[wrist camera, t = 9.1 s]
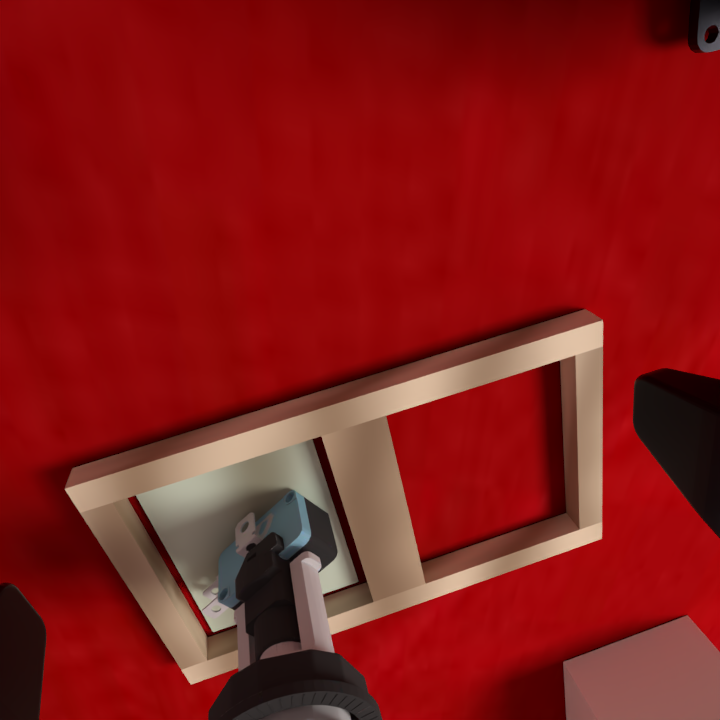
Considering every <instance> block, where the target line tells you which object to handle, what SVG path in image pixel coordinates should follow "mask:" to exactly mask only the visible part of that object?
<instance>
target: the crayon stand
mask: <svg viewBox="0 0 720 720" xmlns="http://www.w3.org/2000/svg"><path fill="white" fill-rule="evenodd" d="M563 668H564V687H565V705H566V720H720V652H719V651H718V650H717V648H716V647H715V646H714V645H713V644H712V643H711V642H710V640H709V639H708V638H707V637H706V636H705V635H704V634H703V632H702V631H701V630H700V629H699V628H698V627H697V626H696V624H695V623H694V622H693V621H692V620H691V619H690V618H689V616H688V615H687V616H684V617H681V618H679V619H676V620H673V621H671V622H668V623H665V624H663V625H660V626H658V627H655V628H652V629H650V630H647V631H644V632H642V633H639V634H636V635H634V636H631V637H628V638H626V639H623V640H620V641H618V642H615V643H612V644H610V645H607V646H604V647H602V648H599V649H596V650H594V651H591V652H588V653H586V654H583V655H580V656H578V657H575V658H572V659H570V660H567V661H564V662H563Z"/></svg>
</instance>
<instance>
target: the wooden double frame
mask: <svg viewBox="0 0 720 720" xmlns="http://www.w3.org/2000/svg"><path fill="white" fill-rule="evenodd" d="M559 360H560V372H561V397H562V422H563V447H564V471H565V496H566V513H564V514H561V515H559V516H556V517H553V518H550V519H547V520H544V521H541V522H538V523H535V524H533V525H530V526H527V527H524V528H521V529H518V530H515V531H512V532H510V533H507V534H504V535H501V536H498V537H495V538H492V539H489V540H487V541H484V542H481V543H478V544H475V545H472V546H469V547H466V548H464V549H461V550H458V551H455V552H452V553H449V554H446V555H443V556H441V557H438V558H435V559H432V560H429V561H426V562H423V563H421V562H420V558H419V554H418V549H417V545H416V541H415V537H414V532H413V528H412V524H411V520H410V515H409V511H408V507H407V503H406V499H405V494H404V490H403V486H402V482H401V477H400V473H399V469H398V465H397V460H396V456H395V452H394V448H393V444H392V439H391V435H390V431H389V427H388V422H387V418H386V415H389V414H393V413H396V412H399V411H402V410H405V409H408V408H411V407H415V406H418V405H421V404H424V403H427V402H430V401H433V400H436V399H440V398H443V397H446V396H449V395H452V394H455V393H458V392H462V391H465V390H468V389H471V388H474V387H477V386H480V385H484V384H487V383H490V382H493V381H496V380H499V379H502V378H506V377H509V376H512V375H515V374H518V373H521V372H524V371H528V370H531V369H534V368H537V367H540V366H543V365H546V364H550V363H553V362H556V361H559ZM602 417H603V320H602V319H600V318H599V317H597V316H595V315H594V314H592V313H591V312H589V311H587V310H586V309H584V310H581V311H577V312H574V313H571V314H568V315H564V316H561V317H558V318H555V319H552V320H548V321H545V322H542V323H539V324H535V325H532V326H529V327H526V328H522V329H519V330H516V331H513V332H510V333H506V334H503V335H500V336H497V337H493V338H490V339H487V340H484V341H481V342H477V343H474V344H471V345H468V346H464V347H461V348H458V349H455V350H452V351H448V352H445V353H442V354H439V355H435V356H432V357H429V358H426V359H423V360H419V361H416V362H413V363H410V364H406V365H403V366H400V367H397V368H394V369H390V370H387V371H384V372H381V373H377V374H374V375H371V376H368V377H365V378H361V379H358V380H355V381H352V382H348V383H345V384H342V385H339V386H336V387H332V388H329V389H326V390H323V391H319V392H316V393H313V394H310V395H307V396H303V397H300V398H297V399H294V400H290V401H287V402H284V403H281V404H278V405H274V406H271V407H268V408H265V409H261V410H258V411H255V412H252V413H248V414H245V415H242V416H239V417H236V418H232V419H229V420H226V421H223V422H219V423H216V424H213V425H210V426H207V427H203V428H200V429H197V430H194V431H190V432H187V433H184V434H181V435H178V436H174V437H171V438H168V439H165V440H161V441H158V442H155V443H152V444H149V445H145V446H142V447H139V448H136V449H132V450H129V451H126V452H123V453H120V454H116V455H113V456H110V457H107V458H103V459H100V460H97V461H94V462H91V463H87V464H84V465H81V466H78V467H74V468H72V470H71V473H70V476H69V478H68V481H67V483H66V486H65V491H66V492H67V494H68V495H69V497H70V498H71V500H72V501H73V503H74V505H75V506H76V508H77V509H78V511H79V512H80V514H81V515H82V517H83V518H84V520H85V522H86V523H87V525H88V526H89V528H90V529H91V531H92V532H93V534H94V535H95V537H96V539H97V540H98V542H99V543H100V545H101V546H102V548H103V549H104V551H105V552H106V554H107V556H108V557H109V559H110V560H111V562H112V563H113V565H114V566H115V568H116V569H117V571H118V573H119V574H120V576H121V577H122V579H123V580H124V582H125V583H126V585H127V586H128V588H129V590H130V591H131V593H132V594H133V596H134V597H135V599H136V600H137V602H138V603H139V605H140V607H141V608H142V610H143V611H144V613H145V614H146V616H147V617H148V619H149V620H150V622H151V624H152V625H153V627H154V628H155V630H156V631H157V633H158V634H159V636H160V637H161V639H162V641H163V642H164V644H165V645H166V647H167V648H168V650H169V651H170V653H171V654H172V656H173V658H174V659H175V661H176V662H177V664H178V665H179V667H180V668H181V670H182V671H183V673H184V675H185V676H186V678H187V679H188V681H189V682H190V684H194V683H197V682H199V681H202V680H205V679H208V678H211V677H214V676H216V675H219V674H222V673H225V672H228V671H230V670H233V669H236V668H238V637H237V627H236V628H233V629H231V630H228V631H225V632H222V633H219V634H216V635H213V636H210V637H207V635H206V633H205V632H204V630H203V628H202V627H201V625H200V623H199V621H198V620H197V618H196V616H195V614H194V613H193V611H192V609H191V608H190V606H189V604H188V602H187V601H186V599H185V597H184V595H183V594H182V592H181V590H180V588H179V587H178V585H177V583H176V582H175V580H174V578H173V576H172V575H171V573H170V571H169V569H168V568H167V566H166V564H165V562H164V561H163V559H162V557H161V556H160V554H159V552H158V550H157V549H156V547H155V545H154V543H153V542H152V540H151V538H150V536H149V535H148V533H147V531H146V530H145V528H144V526H143V524H142V523H141V521H140V519H139V517H138V516H137V514H136V512H135V510H134V509H133V507H132V505H131V504H130V502H129V500H128V498H129V497H132V496H135V495H136V497H137V499H138V500H139V502H140V504H141V506H142V508H143V509H144V511H145V513H146V515H147V516H148V518H149V520H150V522H151V523H152V525H153V527H154V529H155V531H156V532H157V534H158V536H159V538H160V539H161V541H162V543H163V545H164V546H165V548H166V550H167V552H168V554H169V555H170V557H171V559H172V561H173V562H174V564H175V566H176V568H177V569H178V571H179V573H180V575H181V577H182V578H183V580H184V582H185V584H186V585H187V587H188V589H189V591H190V592H191V594H192V596H193V598H194V600H195V601H196V603H197V605H198V607H199V608H200V610H201V612H202V609H204V608H205V607H206V606H207V605H208V604H209V603H210V602H212V601H213V600H211V599H209V598H207V597H205V596H203V591H205V590H206V589H207V588H208V587H209V586H210V585H211V584H213V583H214V582H215V581H216V580H217V578H216V576H217V575H218V561H219V557H220V555H221V553H222V552H223V551H224V550H225V549H226V548H227V547H228V546H230V545H231V544H232V543H233V542H234V541H235V540H236V538H235V528H236V526H237V524H238V523H239V522H240V521H241V520H242V519H243V518H245V517H246V516H247V515H248V514H249V513H250V512H252V513H255V522H256V521H258V520H259V519H260V518H261V517H262V516H263V515H264V514H265V513H267V512H268V511H269V510H270V509H271V508H272V507H273V506H274V505H276V504H277V503H278V502H279V501H280V500H281V499H282V498H283V496H285V495H286V494H287V493H288V492H289V491H291V490H295V491H296V492H298V493H299V494H300V495H302V496H303V497H305V498H306V499H308V500H309V501H310V502H312V503H313V504H315V505H316V506H318V507H319V508H321V509H322V510H324V511H325V512H327V513H328V514H329V518H330V522H331V526H332V530H333V534H334V538H335V542H336V546H337V550H338V553H337V556H336V558H335V559H334V561H332V562H331V563H330V564H329V565H328V566H326V567H325V568H324V569H323V570H322V571H321V572H319V573H318V574H319V579H320V584H321V589H322V594H325V593H328V592H331V591H334V590H337V589H340V588H342V587H345V586H348V585H351V584H354V583H357V582H359V580H358V577H357V574H356V571H355V568H354V565H353V562H352V559H351V556H350V553H349V550H348V547H347V544H346V540H345V537H344V534H343V531H342V528H341V525H340V522H339V519H338V516H337V513H336V510H335V507H334V504H333V501H332V498H331V495H330V491H329V488H328V485H327V482H326V479H325V476H324V473H323V470H322V467H321V464H320V461H319V458H318V455H317V452H316V449H315V446H314V443H313V439H314V438H317V437H320V436H321V437H322V440H323V443H324V446H325V449H326V453H327V456H328V459H329V462H330V465H331V468H332V472H333V475H334V478H335V481H336V484H337V488H338V491H339V494H340V497H341V500H342V503H343V507H344V510H345V513H346V516H347V519H348V522H349V526H350V529H351V532H352V535H353V538H354V541H355V545H356V548H357V551H358V554H359V557H360V560H361V564H362V567H363V570H364V573H365V576H366V579H367V582H366V583H363V584H360V585H357V586H354V587H351V588H348V589H346V590H343V591H340V592H337V593H334V594H331V595H328V596H325V597H323V599H324V604H325V609H326V614H327V619H328V624H329V629H330V634H331V635H332V634H335V633H338V632H340V631H343V630H346V629H349V628H352V627H354V626H357V625H360V624H363V623H366V622H369V621H371V620H374V619H377V618H380V617H383V616H385V615H388V614H391V613H394V612H397V611H400V610H402V609H405V608H408V607H411V606H414V605H416V604H419V603H422V602H425V601H428V600H431V599H433V598H436V597H439V596H442V595H445V594H447V593H450V592H453V591H456V590H459V589H462V588H464V587H467V586H470V585H473V584H476V583H478V582H481V581H484V580H487V579H490V578H493V577H495V576H498V575H501V574H504V573H507V572H509V571H512V570H515V569H518V568H521V567H524V566H526V565H529V564H532V563H535V562H538V561H540V560H543V559H546V558H549V557H552V556H555V555H557V554H560V553H563V552H566V551H569V550H571V549H574V548H577V547H580V546H583V545H586V544H588V543H591V542H594V541H597V540H600V539H602ZM248 525H249V522H247V523H246V524H245V525H244V526H243V528H242V533H243V532H245V531H246V529H247V528H248ZM217 592H218V588H214V589H213V590H212V593H217ZM211 609H212V610H213V611H218V610H220V609H221V607H220V606H218V605H216V606H213V607H212V608H211ZM234 611H235V610H233V609H231V608H228V609H227V610H226V611H224V612H223V613H222V614H221V615H220V616H219V617H217V618H215V619H213V618H211V617H209V616H207V615H205V614H203V613H202V614H203V615H204V617H205V619H206V621H207V623H208V624H209V626H210V628H211V630H212V631H213V632H216V631H219V630H221V629H224V628H227V627H230V626H233V625H236V624H235V623H234Z"/></svg>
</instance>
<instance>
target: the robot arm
mask: <svg viewBox="0 0 720 720" xmlns="http://www.w3.org/2000/svg"><path fill="white" fill-rule="evenodd" d="M707 29H708V30H709V35H708V38H707V40H706V41H705V39H704V35H705V31H706V30H707ZM688 45H689V47H690V49H691V50H692V51H693V52H695V53H703V52H712V51H716V50H719V49H720V0H691V3H690V17H689V32H688ZM633 424H634V428H635V431H636V433H637V435H638V437H639V438H640V439H641V441H642V442H643V443H644V445H645V446H646V447H647V449H648V450H649V451H650V452H651V454H652V455H653V456H654V458H655V459H656V460H657V462H658V463H659V464H660V465H661V467H662V468H663V469H664V471H665V472H666V473H667V475H668V476H669V477H670V478H671V480H672V481H673V482H674V484H675V485H676V486H677V488H678V489H679V490H680V491H681V493H682V494H683V495H684V497H685V498H686V499H687V501H688V502H689V503H690V504H691V506H692V507H693V508H694V509H695V511H696V512H697V513H698V514H699V515H700V517H701V518H702V519H703V520H704V521H705V523H706V524H707V525H708V526H709V527H710V528H711V529H712V530H713V531H714V533H715V534H716V535H717V536H718V537H719V538H720V380H719V379H715V378H710V377H705V376H701V375H696V374H691V373H687V372H682V371H677V370H673V369H668V368H662V369H658V370H655V371H652V372H649V373H646V374H643V375H641V376H639V377H638V378H637V379H636V381H635V384H634V404H633ZM45 647H46V629H45V625H44V622H43V620H42V618H41V617H40V616H39V614H38V613H37V612H36V611H35V609H34V608H33V607H32V606H31V604H30V603H29V602H28V601H27V599H26V598H25V597H24V596H23V594H22V593H21V592H20V590H19V589H18V588H17V587H16V586H15V585H13V584H11V583H1V584H0V720H39V715H40V703H41V692H42V681H43V670H44V659H45Z"/></svg>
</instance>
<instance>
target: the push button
mask: <svg viewBox="0 0 720 720" xmlns="http://www.w3.org/2000/svg"><path fill="white" fill-rule="evenodd" d="M247 522H249V525H248V528H247V529H246V531H245V532H243V533H242V528H243V526H244V525H245V524H246V523H247ZM235 538H236V540H235V541H234V542H233V543H232V544H231V545H230V546H228V547H227V548H226V549H225V550H224V551H223V552H222V553H221V555H220V557H219V561H218V575H217V576H216V578H217V580H216V581H215V582H214V583H213V584H211V585H210V586H209V587H208V588H207V589H206V590H205V591H203V596H205V597H207V598H209V599H211V600H213V601H212V602H210V603H209V604H208V605H207V606H206V607H205V608H204V609H202V613H203V614H205V615H207V616H209V617H211V618H213V619H215V618H217V617H219V616H220V615H221V614H222V613H223V612H224V611H226V610H227V609H228V608H231V609H233V610H235V611H234V623H235V624H237V637H238V669H239V672H237V673H235V674H234V675H232V676H231V677H230V679H229V680H228V682H227V684H226V685H225V687H224V688H223V690H222V691H221V693H220V694H219V696H218V697H217V699H216V700H215V702H214V704H213V705H212V707H211V708H210V710H209V716H208V720H382V717H381V713H380V710H379V706H378V704H377V703H376V701H375V700H374V698H373V697H372V696H371V695H370V694H369V693H368V690H367V686H366V682H365V678H364V676H363V675H362V674H361V673H359V672H358V671H357V670H356V669H355V668H354V667H353V666H352V665H351V664H350V663H348V662H347V661H346V660H345V659H344V658H343V657H342V656H341V655H339V654H337V653H334V649H333V644H332V639H331V634H330V629H329V624H328V619H327V614H326V609H325V604H324V599H323V594H322V589H321V584H320V579H319V574H318V573H319V572H321V571H322V570H323V569H324V568H325V567H326V566H328V565H329V564H330V563H331V562H332V561H334V559H335V558H336V556H337V553H338V550H337V546H336V542H335V538H334V534H333V530H332V526H331V522H330V518H329V514H328V513H327V512H325V511H324V510H322V509H321V508H319V507H318V506H316V505H315V504H313V503H312V502H310V501H309V500H308V499H306V498H305V497H303V496H302V495H300V494H299V493H298V492H296V491H295V490H291V491H289V492H288V493H287V494H286V495H285V496H283V498H282V499H281V500H280V501H279V502H278V503H277V504H276V505H274V506H273V507H272V508H271V509H270V510H269V511H268V512H267V513H265V514H264V515H263V516H262V517H261V518H260V519H259V520H258V521H256V522H255V513H252V512H250V513H249V514H248V515H247V516H246V517H245V518H243V519H242V520H241V521H240V522H239V523H238V524H237V526H236V528H235ZM214 588H218V592H217V593H212V590H213V589H214ZM216 605H218V606H220V607H221V609H220V610H218V611H213V610H212V609H211V608H212V607H213V606H216Z"/></svg>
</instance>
